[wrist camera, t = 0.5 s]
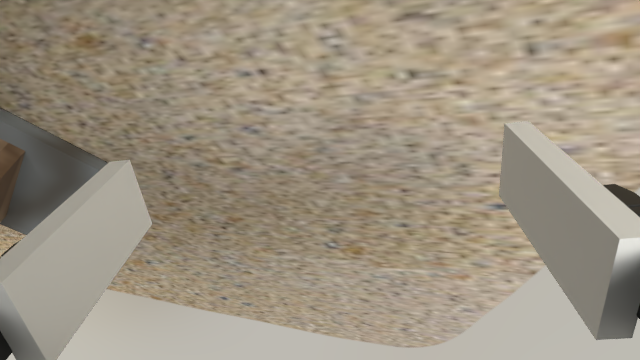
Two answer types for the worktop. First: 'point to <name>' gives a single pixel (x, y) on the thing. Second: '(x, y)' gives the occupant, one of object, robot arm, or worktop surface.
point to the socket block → (37, 172)
